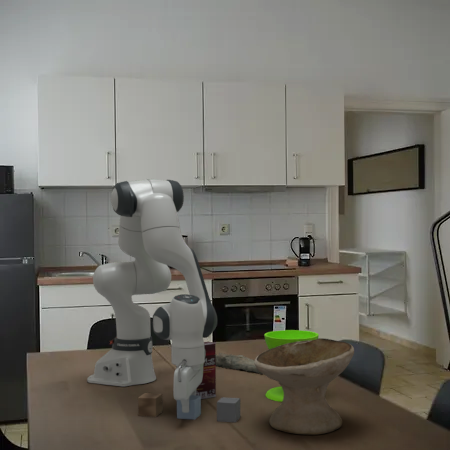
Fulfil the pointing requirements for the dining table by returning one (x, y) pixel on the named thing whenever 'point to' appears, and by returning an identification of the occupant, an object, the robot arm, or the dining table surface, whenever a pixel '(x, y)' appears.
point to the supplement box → (208, 373)
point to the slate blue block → (194, 408)
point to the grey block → (228, 409)
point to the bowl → (305, 383)
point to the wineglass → (279, 339)
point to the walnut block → (150, 405)
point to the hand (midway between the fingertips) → (188, 408)
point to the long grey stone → (236, 362)
